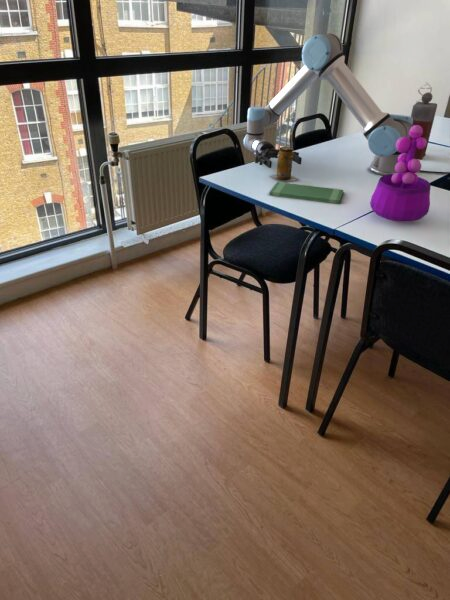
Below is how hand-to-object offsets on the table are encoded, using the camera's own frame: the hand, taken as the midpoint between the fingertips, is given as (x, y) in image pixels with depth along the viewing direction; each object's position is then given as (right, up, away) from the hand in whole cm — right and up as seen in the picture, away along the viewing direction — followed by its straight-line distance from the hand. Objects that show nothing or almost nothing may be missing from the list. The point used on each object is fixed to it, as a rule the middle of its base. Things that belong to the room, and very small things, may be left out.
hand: (285, 162), depth 186 cm
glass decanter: (+66, +13, +34) cm, 75 cm away
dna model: (+70, +21, +46) cm, 86 cm away
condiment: (0, -5, +4) cm, 7 cm away
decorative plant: (+34, -28, -30) cm, 53 cm away
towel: (+6, -15, -11) cm, 20 cm away
